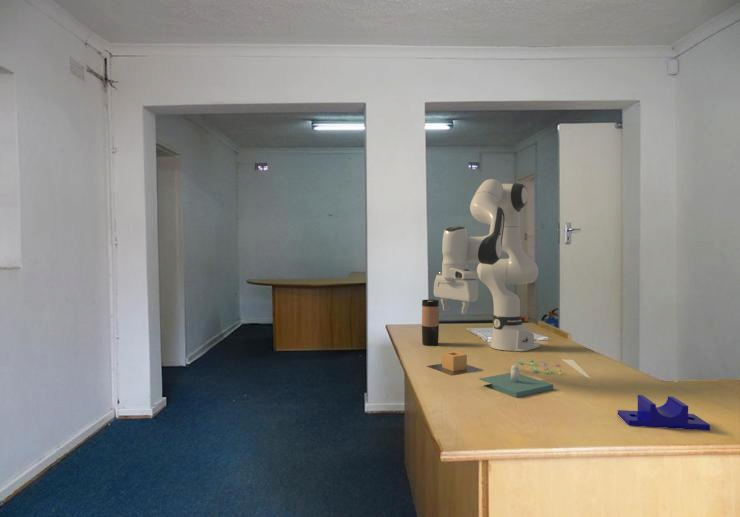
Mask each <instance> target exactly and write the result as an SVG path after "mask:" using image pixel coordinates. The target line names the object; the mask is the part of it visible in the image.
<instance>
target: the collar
mask: <svg viewBox="0 0 740 517" xmlns="http://www.w3.org/2000/svg"><path fill="white" fill-rule="evenodd" d="M441 356H442V357H441V358H442V360H441V364H442V367H443V368H446V369H449V370H451V371H457V370H463V369H467V365H468V359H467V358H468V354H466V353H463V352H459V351H448V352H447V351H446V352H442V354H441Z"/></svg>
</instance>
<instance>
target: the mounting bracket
mask: <svg viewBox="0 0 740 517" xmlns="http://www.w3.org/2000/svg"><path fill="white" fill-rule="evenodd" d="M618 415H619V416H620V417H621V418H622V419H623V420H624V421H625V422H626V423H627V424H628V425H629V426H628V425H627V424H626V423H625V422H624V421H623V420H622V419H621V418H620V417H619V416H618ZM617 416H618V417H619V418H620V419H621V420H622V421H623V422H624V423H625V424H626V425H627V426H628V427H639V426H645V427H644V428H657V427H667V428H666V429H675V428H683V429H682V430H693V429H697V430H696V431H698V430H700V431H711V424H710V423H708V422H707V421H705V420H704V419H702V418H700V417H699V416H698V415H696V414H694V413H689V405H687V404H686V403H684V402H682V401H681V400H680V399H677V398H676V397H675V396H673V395H672V396H671V395H670V396H669V395H668V396H667V400H666V402H664V404H662V405H661V406H656V403H654V402H653V401H652V400H650V399H648V397H646V396H645V395H643V394H637V410H625V409H617ZM646 426H647V427H646Z"/></svg>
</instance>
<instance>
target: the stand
mask: <svg viewBox="0 0 740 517" xmlns="http://www.w3.org/2000/svg"><path fill="white" fill-rule="evenodd" d="M426 367H428V368H430V369H433V370H436V371H439V372H440V373H444V374H446V375H449V376H457V375H458V376H459V375H464V374H465V375H466V374H468V373H469V374H470V373H475V372H482V371H483V369H482V368H478V367H475V366H472V365H469V364H467V369H463V370H457V371H451V370H449V369H446V368H443V367H442V363H437V364H432V365H427V366H426Z"/></svg>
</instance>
